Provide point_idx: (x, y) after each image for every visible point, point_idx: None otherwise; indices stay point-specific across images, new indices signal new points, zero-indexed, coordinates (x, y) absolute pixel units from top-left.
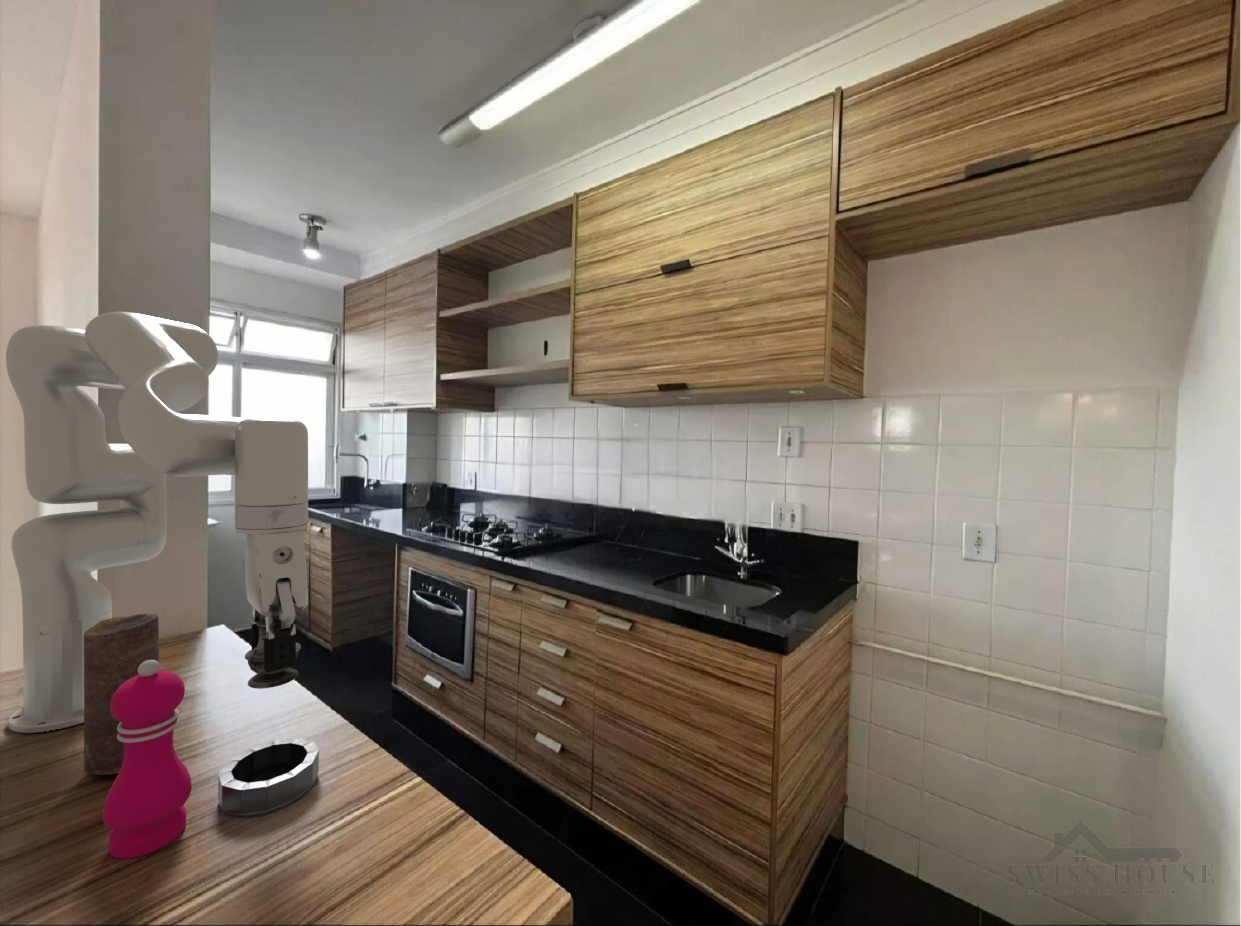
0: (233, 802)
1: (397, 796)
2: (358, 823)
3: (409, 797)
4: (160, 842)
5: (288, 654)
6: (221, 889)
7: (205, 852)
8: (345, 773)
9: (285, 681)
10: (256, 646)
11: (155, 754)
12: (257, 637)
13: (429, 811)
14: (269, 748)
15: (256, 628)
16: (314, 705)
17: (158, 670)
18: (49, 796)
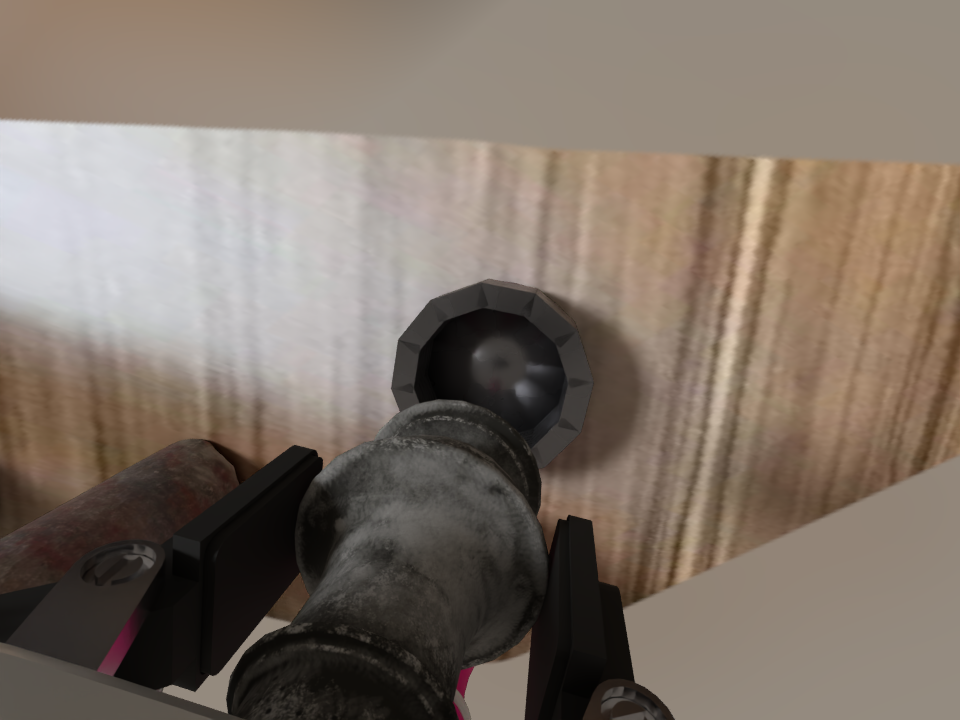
0: None
1: (776, 214)
2: (771, 318)
3: (808, 197)
4: None
5: (621, 615)
6: (698, 527)
7: (584, 506)
8: (582, 244)
9: (534, 485)
10: (289, 574)
11: (468, 674)
12: (261, 606)
13: (901, 197)
14: (420, 356)
15: (221, 656)
16: (213, 134)
17: (24, 562)
18: None
